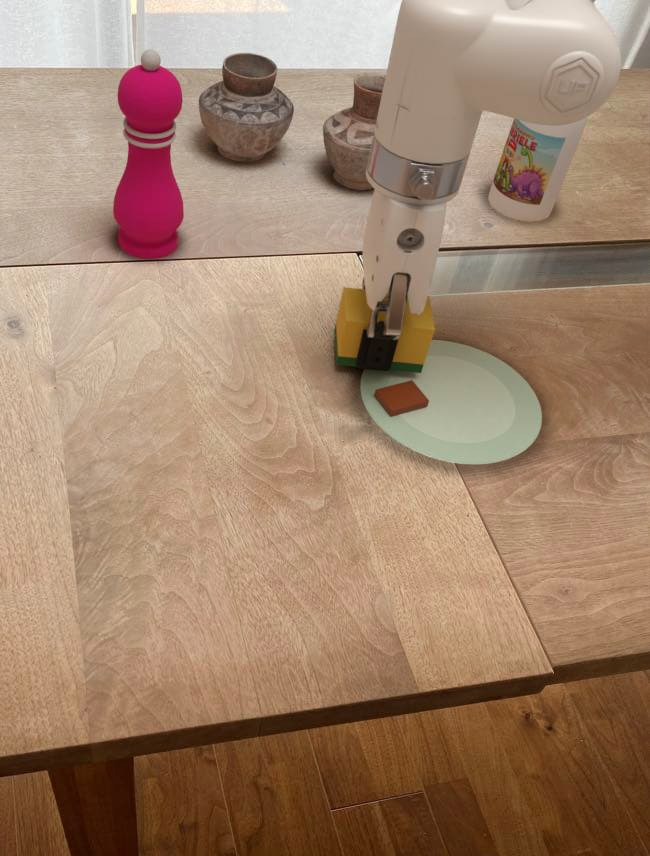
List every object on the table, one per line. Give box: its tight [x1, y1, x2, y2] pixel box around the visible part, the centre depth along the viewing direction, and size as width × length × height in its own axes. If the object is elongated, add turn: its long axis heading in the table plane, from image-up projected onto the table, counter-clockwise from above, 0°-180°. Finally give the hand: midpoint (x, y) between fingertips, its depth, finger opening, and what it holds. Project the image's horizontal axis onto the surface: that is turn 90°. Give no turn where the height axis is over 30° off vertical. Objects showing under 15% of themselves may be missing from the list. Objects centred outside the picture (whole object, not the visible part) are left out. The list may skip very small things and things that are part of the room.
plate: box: [360, 339, 543, 465], centre depth 83 cm, size 17×17×1 cm
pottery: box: [198, 52, 386, 191], centre depth 104 cm, size 11×25×12 cm, turn 74°
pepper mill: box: [112, 48, 185, 260], centre depth 87 cm, size 7×7×20 cm
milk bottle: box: [487, 117, 588, 222], centre depth 99 cm, size 8×8×20 cm
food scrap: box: [374, 380, 429, 416], centre depth 81 cm, size 4×3×1 cm
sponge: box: [333, 286, 436, 373], centre depth 82 cm, size 8×5×5 cm, turn 88°
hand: (370, 346), depth 83 cm, fingers closed on sponge, 5 cm apart
